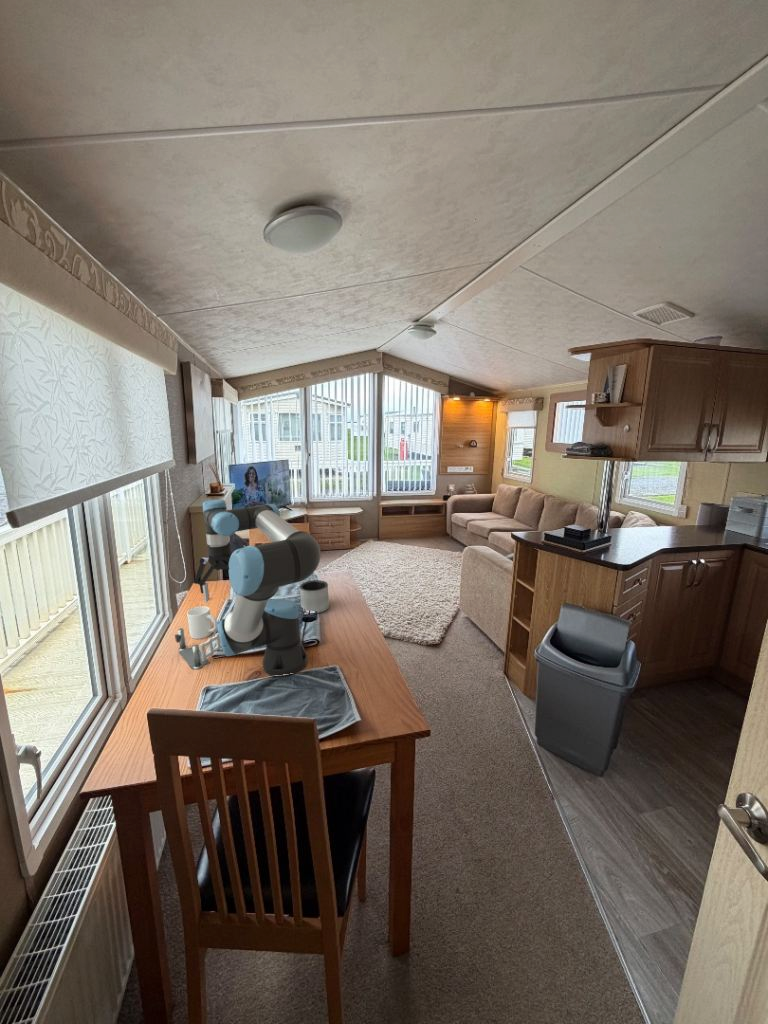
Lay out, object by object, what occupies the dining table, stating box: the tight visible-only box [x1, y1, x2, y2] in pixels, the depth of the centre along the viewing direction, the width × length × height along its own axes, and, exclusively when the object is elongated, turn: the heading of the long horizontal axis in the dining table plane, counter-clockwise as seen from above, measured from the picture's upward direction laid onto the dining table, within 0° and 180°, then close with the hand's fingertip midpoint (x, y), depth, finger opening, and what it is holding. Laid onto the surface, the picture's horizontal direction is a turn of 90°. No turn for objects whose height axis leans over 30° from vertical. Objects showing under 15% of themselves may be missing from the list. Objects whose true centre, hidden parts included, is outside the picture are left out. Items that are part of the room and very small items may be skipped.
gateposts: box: [174, 627, 204, 670], centre depth 152 cm, size 19×4×8 cm, turn 42°
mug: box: [186, 605, 218, 640], centre depth 168 cm, size 12×8×10 cm
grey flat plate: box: [178, 646, 211, 670], centre depth 153 cm, size 15×6×1 cm, turn 42°
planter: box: [299, 579, 330, 614], centre depth 189 cm, size 12×13×11 cm
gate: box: [199, 632, 222, 661], centre depth 154 cm, size 12×1×7 cm, turn 157°
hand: (225, 600), depth 152 cm, fingers open, 12 cm apart
